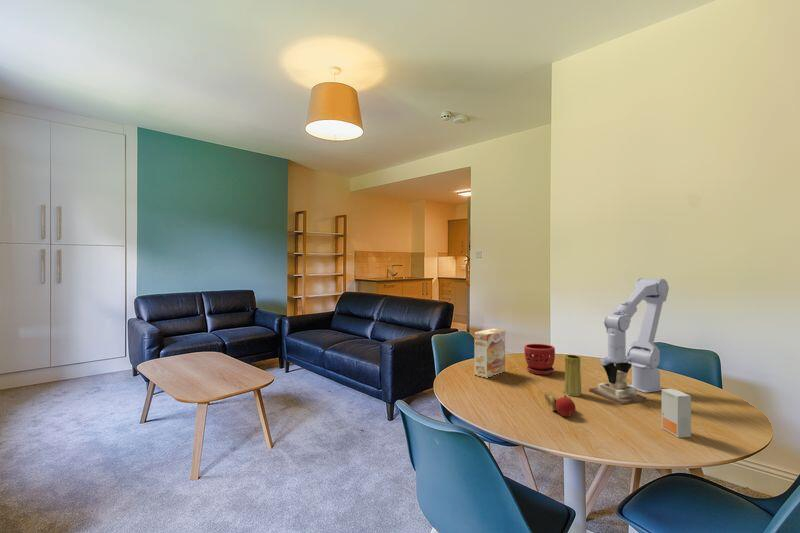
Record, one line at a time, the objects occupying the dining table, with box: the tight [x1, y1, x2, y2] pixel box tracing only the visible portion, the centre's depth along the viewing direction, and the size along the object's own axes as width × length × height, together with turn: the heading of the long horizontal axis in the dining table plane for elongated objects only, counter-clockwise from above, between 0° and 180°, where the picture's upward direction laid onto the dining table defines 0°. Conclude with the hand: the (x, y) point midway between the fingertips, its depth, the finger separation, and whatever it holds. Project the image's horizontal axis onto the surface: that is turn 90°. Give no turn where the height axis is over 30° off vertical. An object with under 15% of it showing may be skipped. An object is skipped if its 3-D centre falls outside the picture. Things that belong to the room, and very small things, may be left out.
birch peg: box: [609, 370, 628, 390], centre depth 134 cm, size 4×4×6 cm
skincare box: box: [660, 388, 692, 439], centre depth 105 cm, size 6×4×12 cm
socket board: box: [588, 381, 647, 405], centre depth 135 cm, size 12×14×4 cm
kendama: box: [543, 390, 577, 418], centre depth 124 cm, size 8×6×18 cm
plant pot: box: [524, 343, 556, 375], centre depth 165 cm, size 13×13×12 cm
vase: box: [563, 354, 582, 397], centre depth 137 cm, size 6×6×14 cm
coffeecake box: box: [473, 328, 506, 379], centre depth 162 cm, size 15×7×20 cm, turn 132°
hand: (616, 382), depth 135 cm, fingers closed on birch peg, 4 cm apart
